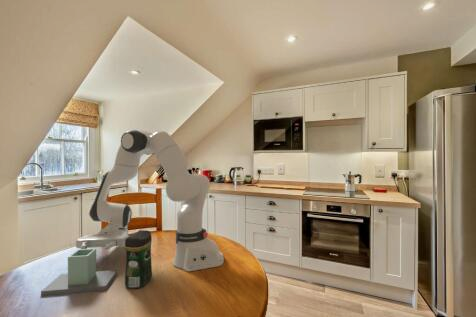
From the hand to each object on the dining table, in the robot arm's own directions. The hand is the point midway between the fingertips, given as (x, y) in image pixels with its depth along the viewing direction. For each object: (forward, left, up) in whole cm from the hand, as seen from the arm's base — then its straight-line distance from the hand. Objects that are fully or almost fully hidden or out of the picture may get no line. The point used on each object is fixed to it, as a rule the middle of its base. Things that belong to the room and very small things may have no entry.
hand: (95, 247), depth 92 cm
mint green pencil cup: (0, +10, -8) cm, 13 cm away
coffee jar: (-20, +12, -9) cm, 25 cm away
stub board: (0, +10, -9) cm, 14 cm away
